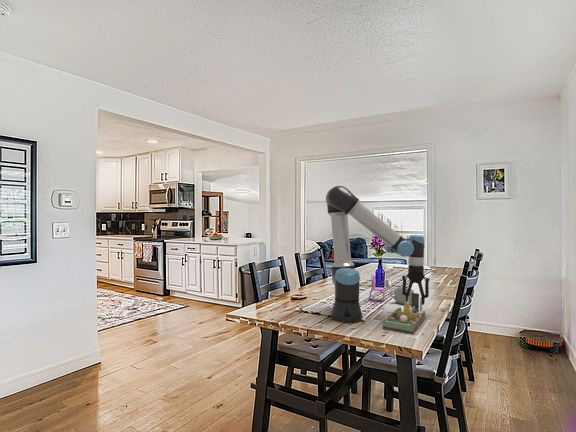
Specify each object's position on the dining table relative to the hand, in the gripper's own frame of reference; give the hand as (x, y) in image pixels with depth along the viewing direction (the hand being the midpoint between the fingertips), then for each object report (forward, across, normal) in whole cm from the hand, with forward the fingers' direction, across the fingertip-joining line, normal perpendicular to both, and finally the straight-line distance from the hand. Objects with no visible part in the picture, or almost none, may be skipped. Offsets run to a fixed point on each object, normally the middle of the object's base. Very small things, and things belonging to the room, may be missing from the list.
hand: (414, 309), depth 191 cm
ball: (-1, 0, +25) cm, 25 cm away
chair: (+2, +25, -15) cm, 29 cm away
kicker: (+1, 0, +9) cm, 9 cm away
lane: (+2, 0, +22) cm, 22 cm away
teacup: (+2, +11, -18) cm, 21 cm away
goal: (+1, 0, +32) cm, 32 cm away
